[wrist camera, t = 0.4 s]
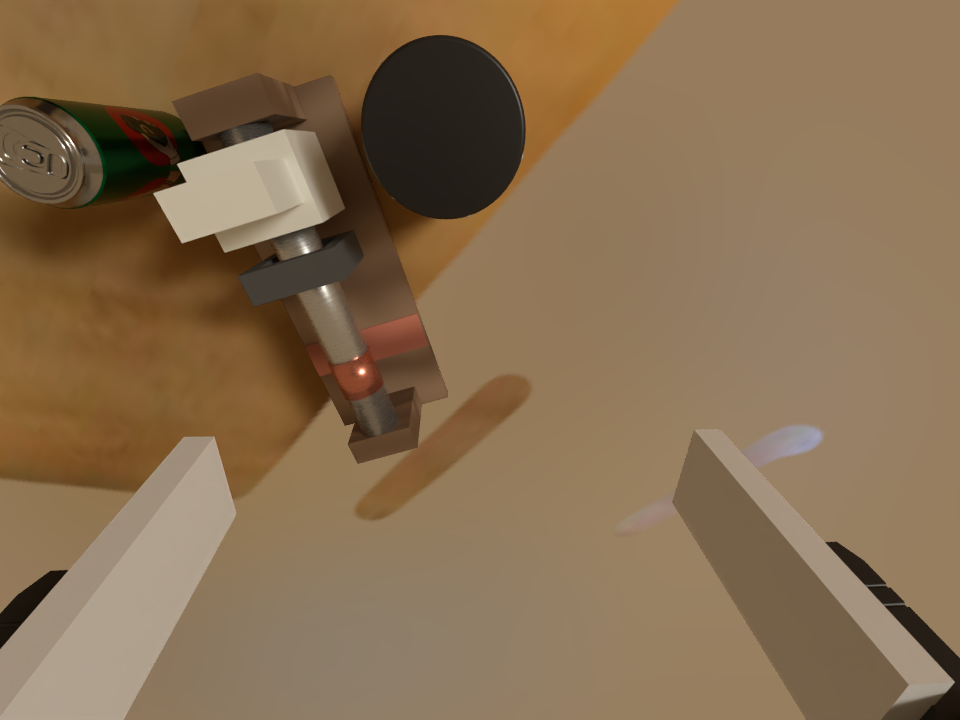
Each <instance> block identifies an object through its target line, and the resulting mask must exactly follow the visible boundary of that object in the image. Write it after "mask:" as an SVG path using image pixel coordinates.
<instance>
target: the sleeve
mask: <svg viewBox="0 0 960 720" xmlns="http://www.w3.org/2000/svg"><path fill="white" fill-rule="evenodd" d="M177 165H178V167H179V169H180V171H181V172H182V174H183V176H184V178H185V180H186V182H187V183H183V184H180V185H177V186H174V187H171V188H168V189H165V190H162V191H158V192H155V193H153V194H154V196H155V197H156V199H157V201H158V203H159V204H160V206H161V208H162V210H163V211H164V213H165V215H166V216H167V218H168V220H169V222H170V223H171V225H172V227H173V229H174V230H175V232H176V234H177V236H178V237H179V239H180V241H181V243H185V242H188V241H191V240H194V239H198V238H201V237H204V236H207V235H210V234H215V236H216V237H217V239H218V241H219V243H220V245H221V247H222V249H223V250H224V252H225V253H226V252H229V251H232V250H235V249H239V248H242V247H245V246H248V245H252V244H255V243H258V242H261V241H265V240H268V239H271V238H274V237H277V236H281V235H284V234H287V233H290V232H294V231H297V230H300V229H303V228H307V227H310V226H313V225H316V224H320V223H323V222H325V221H326V220H328V219H329V218H331V217H333V216H334V215H336V214H337V213H339V212H340V211H342V210H344V209H345V207H344V204H343V202H342V199H341V197H340V194H339V192H338V189H337V187H336V184H335V182H334V179H333V176H332V174H331V171H330V169H329V166H328V164H327V161H326V159H325V156H324V154H323V151H322V149H321V146H320V144H319V141H318V139H317V136H316V134H315V132H309V131H298V130H286V129H283V130H280V131H277V132H274V133H271V134H268V135H264V136H261V137H258V138H255V139H252V140H249V141H246V142H243V143H240V144H237V145H234V146H231V147H227V148H224V149H221V150H218V151H215V152H212V153H209V154H206V155H203V156H200V157H197V158H193V159H190V160H187V161H184V162H181V163H178V164H177Z"/></svg>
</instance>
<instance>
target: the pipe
mask: <svg viewBox="0 0 960 720" xmlns="http://www.w3.org/2000/svg"><path fill="white" fill-rule="evenodd" d="M271 133H274V131H273V128H272V126H271V124H270V121H257V122H252V123H247V124H243V125H240V126H236V127H233V128H230V129H227V130H225V131H223V132H221V133H219V134H218V136H219V138H220V140H221V142H222V145H223V147H224V148H227V147H231V146H234V145H237V144H240V143H243V142H246V141H249V140H252V139H255V138H258V137H261V136H264V135H268V134H271ZM269 241H270V243H271V245H272V247H273V249H274V251H275V253H276V255H277V257H278V259H279V262H280V261H283V260H287V259H290V258H293V257H296V256H300V255H303V254H306V253H310V252H313V251H316V250H319V249H323V248H324V245H323V243H322V241H321V239H320V236H319V234H318V232H317V229H316V227H315V225H313V226H310V227H307V228H303V229H300V230H297V231H294V232H290V233H287V234H284V235H281V236H277V237H274V238H271V239H269ZM296 296H297V298H298V301H299V303H300V305H301V307H302V309H303V311H304V313H305V315H306V317H307V319H308V321H309V323H310V325H311V327H312V329H313V331H314V333H315V335H316V337H317V340H318V342H319V344H320V346H321V348H322V350H323V352H324V354H325V356H326V358H327V360H328V365H329V367H330V369H331V372H332V374H333V376H334V378H335V380H336V382H337V384H338V386H339V388H340V390H341V392H342V394H343V396H344V398H345V399H346V400H347V401H348V403H349V405H350V407H351V409H352V411H353V413H354V415H355V418H356V420H357V422H358V424H359V426H360V428H361V430H362V432H363V434H364V435H365V436H367V437H376V436H379V435H382V434H385V433H387V432H388V431H390V430H391V429H393V428H394V427H395V426H396V424H397V423H398V420H399V418H398V416H397V413H396V411H395V409H394V406H393V404H392V402H391V399H390V397H389V395H388V393H387V390H386V388H385V386H384V380H383V378H382V375H381V373H380V371H379V368H378V366H377V364H376V362H375V359H374V357H373V355H372V352H371V350H370V348H369V346H368V345H367V344H366V342H365V340H364V337H363V335H362V333H361V330H360V328H359V326H358V324H357V321H356V319H355V317H354V314H353V312H352V310H351V308H350V305H349V303H348V301H347V298H346V296H345V294H344V291H343V289H342V287H341V285H340V282H339V281H338V282H335V283H331V284H328V285H325V286H321V287H318V288H315V289H311V290H308V291H305V292H301V293H298V294H296Z"/></svg>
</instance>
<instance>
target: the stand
mask: <svg viewBox="0 0 960 720" xmlns="http://www.w3.org/2000/svg"><path fill="white" fill-rule="evenodd" d="M172 103H173V105H174V107H175V109H176V111H177V112H178V114H179V116H180V118H181V120H182V122H183V124H184V126H185V128H186V130H187V132H188V134H189V136H190V138H191V140H192V141H202V143H203V145H204V147H205V149H206V151H207V153H208V154H209V153H212V152H215V151H218V150H221V149H224V147H223V145H222V142H221V140H220V138H219V136H218V134H219V133H221V132H223V131H225V130H227V129H230V128H233V127H236V126H240V125H243V124H247V123H252V122H257V121H270V124H271V126H272V128H273V131H274V132H277V131H280V130H283V129H286V130H298V131H309V132H315V134H316V136H317V139H318V141H319V144H320V146H321V149H322V151H323V154H324V156H325V159H326V161H327V164H328V166H329V169H330V171H331V174H332V176H333V179H334V182H335V184H336V187H337V189H338V192H339V194H340V197H341V199H342V202H343V204H344V207H345V209H344V210H342V211H340V212H339V213H337V214H336V215H334V216H333V217H331V218H329V219H328V220H326V221H325V222H323V223H320V224H316V225H315V227H316V229H317V232H318V234H319V236H320V239H324V238H327V237H330V236H334V235H337V234H340V233H343V232H347V231H350V230H353V229H354V232H355V234H356V237H357V239H358V242H359V244H360V247H361V249H362V252H363V254H364V257H363V258H362V260H361V261H360V262H359V264H358V265H357V266H356V268H355V269H354V270H353V272H352V273H351V275H350V276H349V277H348V279H345V280H342V281H339V282H340V285H341V287H342V289H343V291H344V294H345V296H346V298H347V301H348V303H349V305H350V308H351V310H352V312H353V314H354V317H355V319H356V321H357V324H358V326H359V328H360V330H361V333H362V335H363V337H364V340H365V342H366V344H367V345H368V346H369V348H370V350H371V352H372V355H373V357H374V359H375V362H376V364H377V366H378V368H379V371H380V373H381V375H382V378H383V380H384V386H385V388H386V390H387V393H388V395H389V397H390V399H391V402H392V404H393V406H394V409H395V411H396V413H397V416H398V418H399V420H398V423H397V424H396V426H395V427H394V428H393V429H391V430H390V431H388V432H387V433H385V434H382V435H379V436H376V437H367V436H365V435H364V434H363V432H362V430H361V428H360V426H359V424H358V422H357V420H356V418H355V415H354V413H353V411H352V409H351V407H350V405H349V403H348V401H347V400H346V399H345V398H344V396H343V394H342V392H341V390H340V388H339V386H338V384H337V382H336V380H335V378H334V376H333V374H332V372H331V369H330V367H329V365H328V360H327V358H326V356H325V354H324V352H323V350H322V348H321V346H320V344H319V342H318V340H317V337H316V335H315V333H314V331H313V329H312V327H311V325H310V323H309V321H308V319H307V317H306V315H305V313H304V311H303V309H302V307H301V305H300V303H299V301H298V298H297V296H296V294H295V295H291V296H288V297H285V298H281V300H282V302H283V304H284V306H285V308H286V310H287V312H288V314H289V316H290V318H291V320H292V322H293V324H294V326H295V328H296V330H297V332H298V334H299V336H300V338H301V340H302V342H303V344H304V345H305V349H306V351H307V353H308V355H309V357H310V359H311V361H312V363H313V365H314V367H315V369H316V371H317V373H318V375H319V377H321V379H322V381H323V383H324V385H325V387H326V389H327V391H328V393H329V395H330V397H331V399H332V401H333V403H334V405H335V407H336V409H337V411H338V413H339V415H340V417H341V419H342V421H343V423H344V425H345V426H346V425H350V424H353V423H355V424H354V427H353V430H352V433H351V436H350V439H349V443H348V446H349V448H350V450H351V451H352V453H353V455H354V457H355V459H356V461H357V463H358V464H359V463H362V462H365V461H370V460H373V459H377V458H381V457H385V456H388V455H392V454H396V453H399V452H403V451H406V450H410V449H414V448H418V437H419V427H420V417H421V407H422V404H425V403H429V402H432V401H435V400H440V399H443V398H446V397H448V391H447V388H446V386H445V383H444V380H443V377H442V375H441V372H440V369H439V366H438V364H437V361H436V359H435V356H434V353H433V350H432V347H431V345H430V342H429V339H428V336H427V333H426V331H425V328H424V325H423V322H422V320H421V317H420V314H419V311H418V309H417V306H416V303H415V300H414V298H413V295H412V292H411V289H410V287H409V284H408V281H407V279H406V276H405V273H404V270H403V268H402V265H401V262H400V259H399V257H398V254H397V251H396V248H395V246H394V243H393V240H392V237H391V235H390V232H389V229H388V226H387V224H386V221H385V218H384V215H383V213H382V210H381V207H380V204H379V202H378V199H377V196H376V193H375V191H374V188H373V185H372V182H371V180H370V177H369V174H368V171H367V169H366V166H365V163H364V160H363V158H362V155H361V152H360V149H359V147H358V144H357V141H356V138H355V136H354V133H353V130H352V127H351V125H350V122H349V119H348V116H347V114H346V111H345V108H344V105H343V103H342V100H341V97H340V94H339V92H338V89H337V86H336V83H335V81H334V78H333V77H332V76H330V75H329V76H326V77H323V78H320V79H317V80H314V81H311V82H308V83H305V84H302V85H298V86H295V87H294V86H291V85H288V84H286V83H283V82H280V81H278V80H275V79H272V78H270V77H267V76H264V75H261V74H259V73H256V74H253V75H250V76H247V77H244V78H241V79H238V80H235V81H232V82H229V83H226V84H223V85H220V86H217V87H214V88H211V89H208V90H205V91H202V92H199V93H196V94H193V95H190V96H187V97H184V98H181V99H178V100H175V101H172ZM254 246H255V248H256V250H257V252H258V254H259V256H260V258H261V260H262V261H263V260H265V259H266V258H268V257H269V256H271V255H273V254H275V251H274V249H273V247H272V245H271V243H270V241H269V239H268V240H265V241H261V242H258V243H255V244H254Z"/></svg>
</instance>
